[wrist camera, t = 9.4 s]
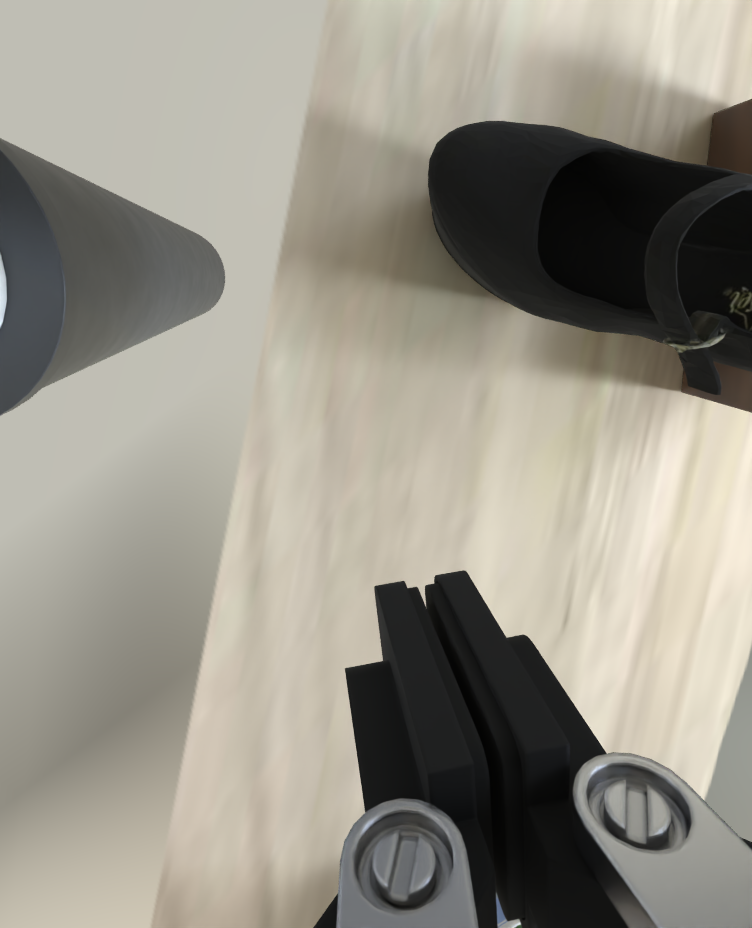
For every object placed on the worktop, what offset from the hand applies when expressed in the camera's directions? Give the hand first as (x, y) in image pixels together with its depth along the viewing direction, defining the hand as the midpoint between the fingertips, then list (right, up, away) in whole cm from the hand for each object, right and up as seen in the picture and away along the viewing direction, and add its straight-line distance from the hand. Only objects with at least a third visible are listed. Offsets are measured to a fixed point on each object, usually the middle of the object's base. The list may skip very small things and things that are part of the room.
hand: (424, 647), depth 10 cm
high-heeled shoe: (+9, +15, +22) cm, 28 cm away
